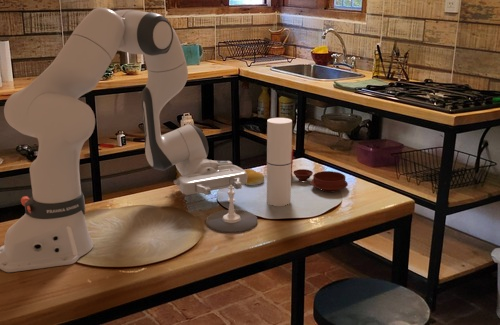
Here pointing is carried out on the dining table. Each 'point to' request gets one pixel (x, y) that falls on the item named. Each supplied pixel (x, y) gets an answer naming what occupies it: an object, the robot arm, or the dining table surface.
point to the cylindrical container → (279, 161)
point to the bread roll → (254, 177)
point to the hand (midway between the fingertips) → (224, 189)
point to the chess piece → (231, 209)
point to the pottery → (323, 179)
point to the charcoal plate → (219, 225)
